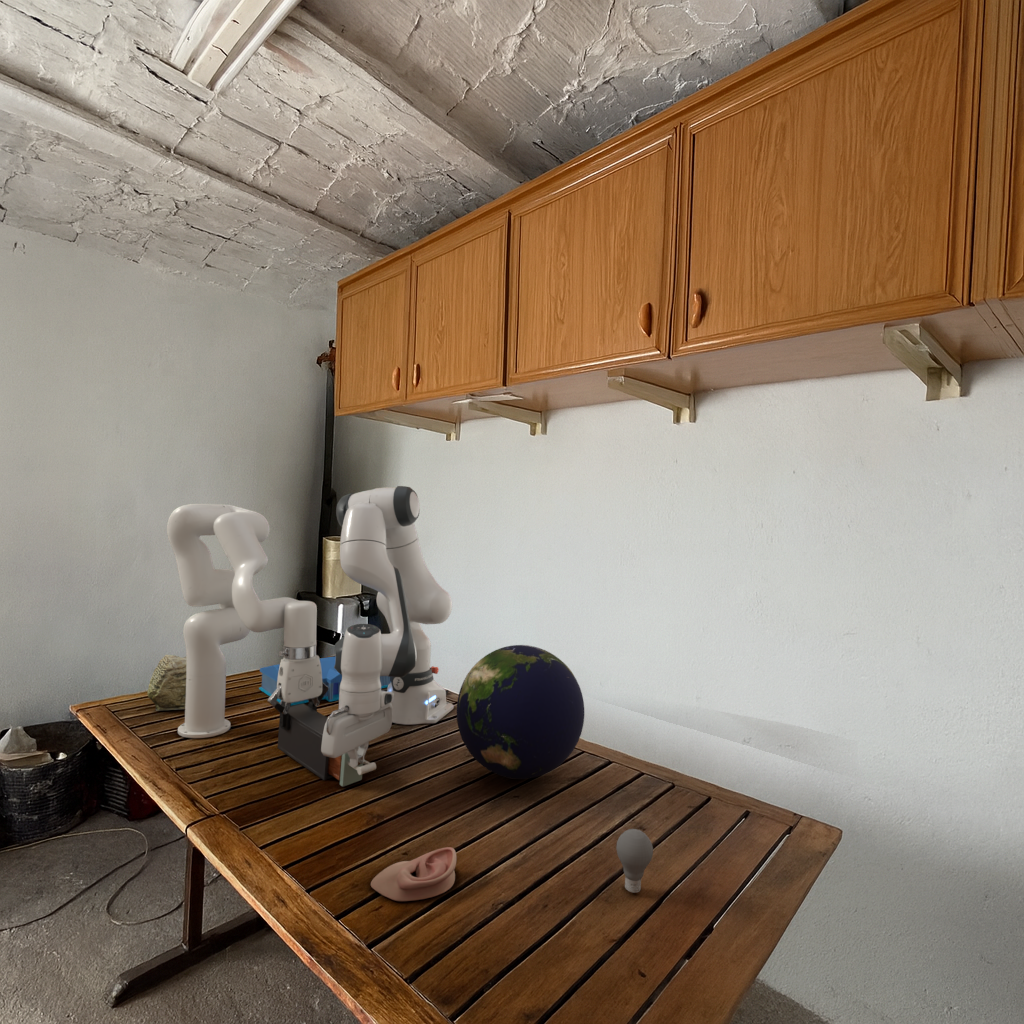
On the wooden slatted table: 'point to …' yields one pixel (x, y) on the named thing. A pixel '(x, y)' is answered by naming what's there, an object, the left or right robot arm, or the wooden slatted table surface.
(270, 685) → the model building
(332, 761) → the drawer
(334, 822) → the wooden slatted table surface
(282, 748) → the cabinet
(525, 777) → the globe
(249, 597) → the left robot arm
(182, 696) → the fossil
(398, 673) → the right robot arm
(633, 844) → the light bulb
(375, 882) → the anatomical model
